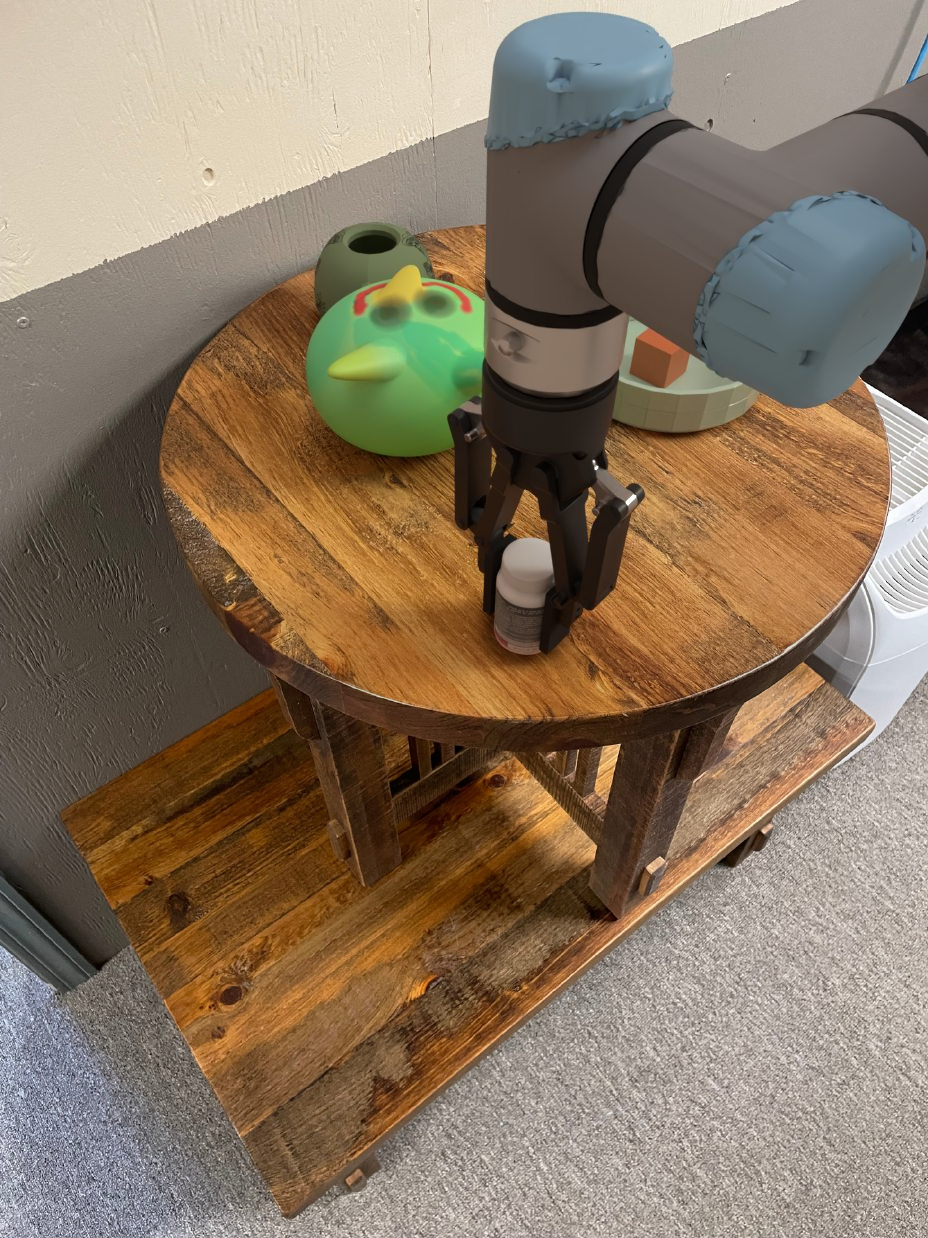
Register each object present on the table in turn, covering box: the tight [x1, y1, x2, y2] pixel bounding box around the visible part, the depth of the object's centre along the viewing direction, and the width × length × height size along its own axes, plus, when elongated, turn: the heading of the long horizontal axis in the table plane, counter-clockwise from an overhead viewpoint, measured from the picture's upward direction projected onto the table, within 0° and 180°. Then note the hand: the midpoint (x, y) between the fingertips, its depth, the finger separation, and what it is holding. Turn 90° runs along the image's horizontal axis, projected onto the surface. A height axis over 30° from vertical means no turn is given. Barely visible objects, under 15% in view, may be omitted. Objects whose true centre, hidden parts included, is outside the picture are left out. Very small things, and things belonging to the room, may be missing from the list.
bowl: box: [612, 316, 761, 434], centre depth 84 cm, size 19×19×5 cm
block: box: [629, 328, 690, 389], centre depth 83 cm, size 4×4×4 cm
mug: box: [313, 221, 436, 320], centre depth 87 cm, size 16×13×9 cm
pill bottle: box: [493, 537, 555, 656], centre depth 63 cm, size 5×5×8 cm
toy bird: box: [305, 265, 485, 458], centre depth 74 cm, size 18×17×15 cm
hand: (525, 621), depth 65 cm, fingers closed on pill bottle, 5 cm apart
